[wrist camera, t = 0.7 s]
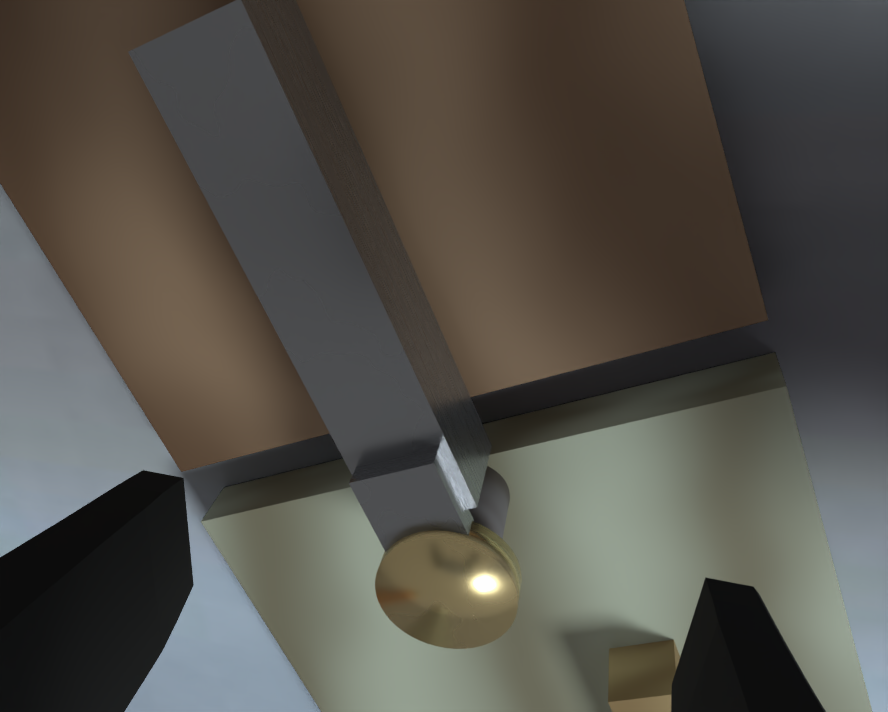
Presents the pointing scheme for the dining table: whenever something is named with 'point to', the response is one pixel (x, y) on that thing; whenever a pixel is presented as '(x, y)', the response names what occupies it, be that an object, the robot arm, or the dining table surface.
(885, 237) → the dining table surface
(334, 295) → the swing bar
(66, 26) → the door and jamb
